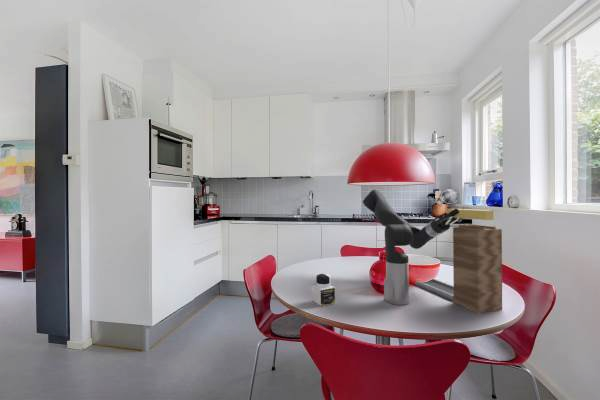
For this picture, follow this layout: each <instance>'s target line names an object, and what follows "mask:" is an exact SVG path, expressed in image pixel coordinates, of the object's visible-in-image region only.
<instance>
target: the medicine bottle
mask: <svg viewBox="0 0 600 400" xmlns="http://www.w3.org/2000/svg"><path fill="white" fill-rule="evenodd" d="M315 278H316V284H313V285H312V302H313V301H314V303H315V304H316V303H317V305H318V306H320V307H325V305H326V306H329V305H334V303H336V295H335V294H336V291H335V289H336V287H335V286H334V285H331V276H330V274H327V273H319V274H317V275H316V277H315Z"/></svg>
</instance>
